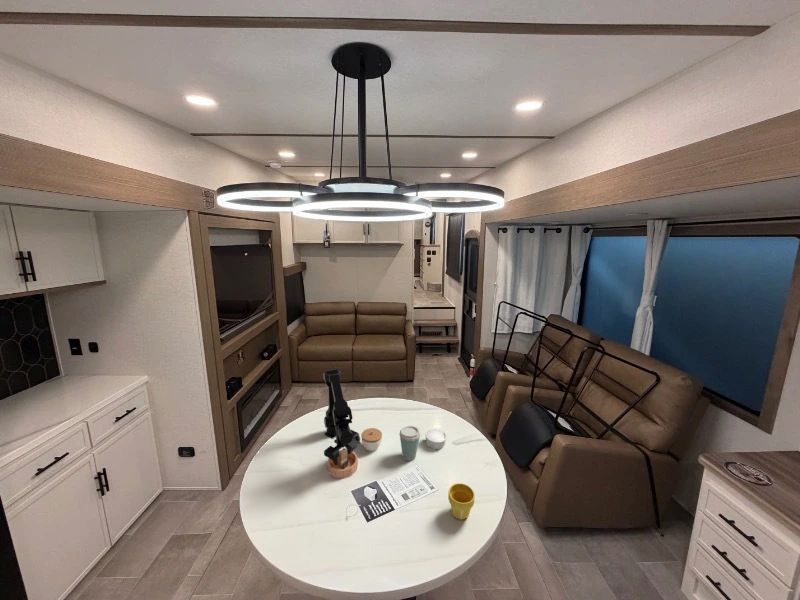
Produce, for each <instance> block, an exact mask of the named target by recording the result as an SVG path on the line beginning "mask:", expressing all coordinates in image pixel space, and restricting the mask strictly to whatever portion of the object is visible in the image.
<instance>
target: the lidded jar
mask: <svg viewBox="0 0 800 600" xmlns="http://www.w3.org/2000/svg"><path fill="white" fill-rule="evenodd" d="M360 434H361V437H360V438H361V442H362V446H363V447H364V449H365V450H366V451H369V452H375V451H376V450H377V449H379V447H380V446H381V444H382V439H383V433H382V431H381V430H380V429H378V428H376V427H375V428H374V427H370V428H366V429H364V430H363V431H362V432H361V433H360Z"/></svg>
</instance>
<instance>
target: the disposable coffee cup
mask: <svg viewBox="0 0 800 600" xmlns="http://www.w3.org/2000/svg"><path fill="white" fill-rule="evenodd" d="M421 435H422V433H421V431H420V429H419V428H418V427H417V426H415V425H406V426H403V427H401V429H400V430H399V439H400V447H401V455H402V458H403V459H404V460H405V461H407V462H408V461H409V462H410V461H411V462H412V461H414V460H415V459H416V457H417V451H418V447H419V442H420V438H421Z"/></svg>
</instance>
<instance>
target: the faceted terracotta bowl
mask: <svg viewBox="0 0 800 600" xmlns="http://www.w3.org/2000/svg"><path fill="white" fill-rule="evenodd" d="M341 450H342V449H340V450H339V452H340V451H341ZM327 458H328V457H327ZM347 460H348V466H347V467H346V468H345V469H341V468H339V467H338V461H337V466H336V465H335V464H334V463H333V461H332V459H330V458H328V459H327V464H326V465H327V466H326V467H327V471H328V473H329V475H330V476H331V477H334V478H336V479H346V478H349V477H350V476H351V477H352V476H353V475H354V474H355V473H356V472H357V470H358V466H359V456H358V455H357V454H356V452H355V451H353V452H351V453H350V454H348V452H347Z"/></svg>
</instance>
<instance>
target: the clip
mask: <svg viewBox="0 0 800 600" xmlns="http://www.w3.org/2000/svg"><path fill="white" fill-rule="evenodd" d="M347 466H348V460H346V461H345V462H344V463H343V468H342V469H345V468H346V467H347Z"/></svg>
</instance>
